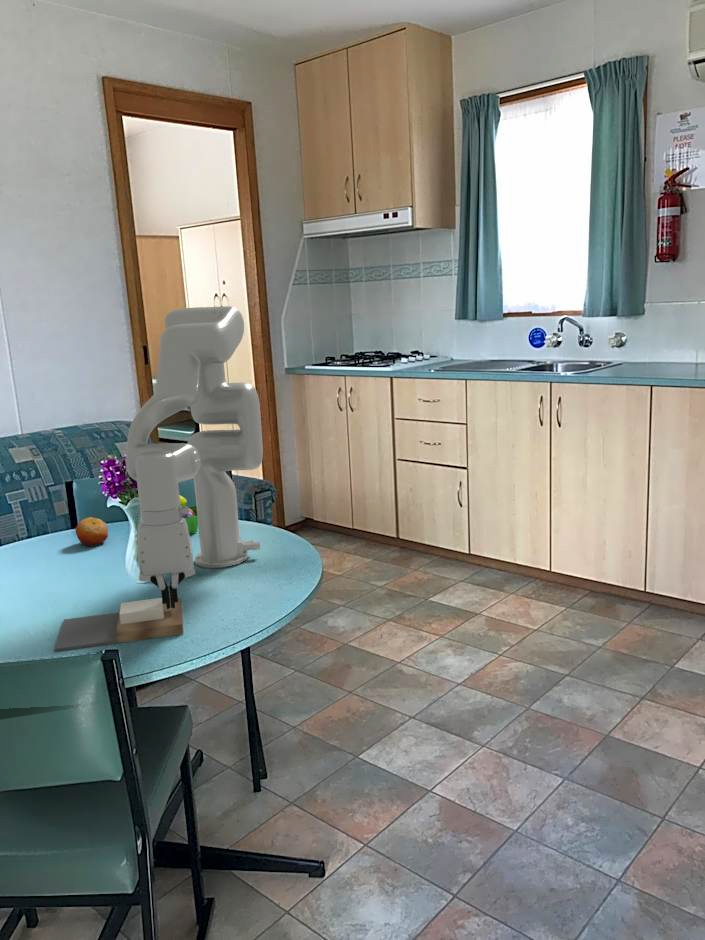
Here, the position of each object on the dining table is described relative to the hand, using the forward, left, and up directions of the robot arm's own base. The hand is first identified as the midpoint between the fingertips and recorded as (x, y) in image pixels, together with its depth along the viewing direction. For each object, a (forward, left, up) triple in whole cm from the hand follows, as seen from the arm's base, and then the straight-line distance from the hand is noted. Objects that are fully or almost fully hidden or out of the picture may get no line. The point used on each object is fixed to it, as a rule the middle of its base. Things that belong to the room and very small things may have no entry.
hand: (170, 605), depth 152 cm
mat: (+15, 0, -3) cm, 16 cm away
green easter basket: (-4, -64, -3) cm, 64 cm away
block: (+5, 0, -1) cm, 6 cm away
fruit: (+20, -60, -3) cm, 63 cm away
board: (+4, 0, -3) cm, 5 cm away
